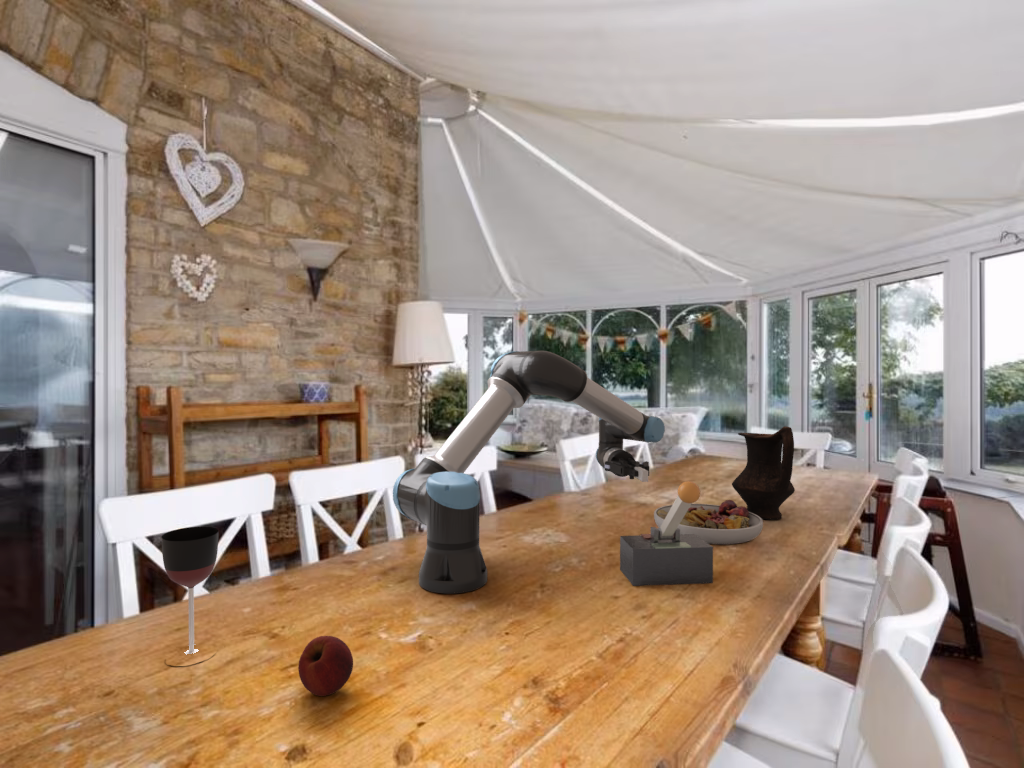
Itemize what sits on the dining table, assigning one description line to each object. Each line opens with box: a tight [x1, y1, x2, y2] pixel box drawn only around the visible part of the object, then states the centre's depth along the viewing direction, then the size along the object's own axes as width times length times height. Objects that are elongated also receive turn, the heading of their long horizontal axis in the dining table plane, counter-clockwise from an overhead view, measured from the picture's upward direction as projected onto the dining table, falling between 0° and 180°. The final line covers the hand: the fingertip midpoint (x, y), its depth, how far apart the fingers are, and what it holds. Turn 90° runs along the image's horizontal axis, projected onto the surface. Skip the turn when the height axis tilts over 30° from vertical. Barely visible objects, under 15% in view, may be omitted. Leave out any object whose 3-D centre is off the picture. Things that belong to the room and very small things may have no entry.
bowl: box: [653, 499, 764, 545], centre depth 163 cm, size 30×30×8 cm
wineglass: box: [161, 526, 219, 655], centre depth 91 cm, size 8×9×20 cm
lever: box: [656, 480, 701, 540], centre depth 119 cm, size 4×4×22 cm
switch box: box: [619, 526, 714, 587], centre depth 127 cm, size 10×18×11 cm, turn 95°
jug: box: [731, 426, 796, 521], centre depth 179 cm, size 21×18×30 cm
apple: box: [297, 635, 354, 697], centre depth 81 cm, size 7×8×8 cm
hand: (645, 476), depth 141 cm, fingers closed
